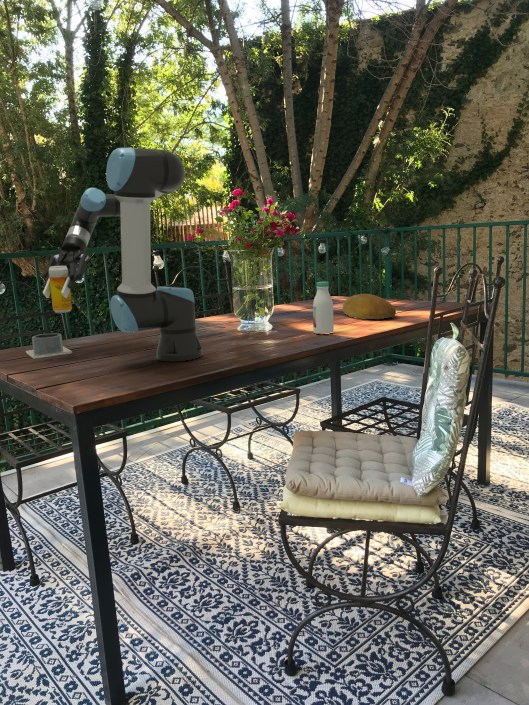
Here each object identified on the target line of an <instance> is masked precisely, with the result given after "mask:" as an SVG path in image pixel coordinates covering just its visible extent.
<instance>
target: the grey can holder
mask: <svg viewBox="0 0 529 705" xmlns="http://www.w3.org/2000/svg"><path fill="white" fill-rule="evenodd" d="M31 341H32V342H31V343H32V349H29V350H25V353H26V354H27V355H28V356H29V357H31V358H32V359H33V360H34V359H42V358H47V357H55V356H62V355H68V354H69V355H70V354H72V353H73V351H72V350H70V349H69V348H67V347H66V346H64V345H63V336H62V334H61V333H54V332H53V333H41V334H36V335H33V336H32V337H31Z"/></svg>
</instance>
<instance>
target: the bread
mask: <svg viewBox="0 0 529 705" xmlns="http://www.w3.org/2000/svg"><path fill="white" fill-rule="evenodd" d="M342 312H343V313H344V315H345V314H346V316H347V315H348V316H351V317H350V318H352V317H356V318H365V319H364V320H367V319H375V320H385V319H384V318H386V319H391V317H392V318H394V317H395V316H396V314H397V311H396V308H395V306H394V305H393V304H392V303H391V302H389V301H387V299H385V298H382V297H380V296H379V295H375V294H370V293H360V294H354V295H351V296H349V297H348V298H346V300H345V301H344V302H343V304H342ZM348 316H347V317H348ZM356 318H355V319H356Z"/></svg>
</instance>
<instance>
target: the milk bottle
mask: <svg viewBox="0 0 529 705" xmlns="http://www.w3.org/2000/svg"><path fill="white" fill-rule="evenodd" d="M329 284H330V283H329V281H317V282H316V294H315V296H314V299H313V302H312V303H313V304H312V316H313V318H312V320H313V322H312V323H313V334H314V333H330V332H333V333H334V305H333V304H334V303H333V299H332V297H331V294H330V292H329Z"/></svg>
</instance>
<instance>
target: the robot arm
mask: <svg viewBox="0 0 529 705" xmlns="http://www.w3.org/2000/svg"><path fill="white" fill-rule="evenodd" d="M105 170H106V171H105V172H106V174H105V176H106V177H105V178H106V181H107V187H108V188H109V189H110V190H111V191H113V192H114V193H113V194H112V193H111V194H109V193H108V194H106V193H105V192H103V191H102V190H101V189H98V188H97V187H89V188H87V189H86V190H85V191H84V192H83V194H82V195H81V197H80V201H79V204H78V207H77V209H76V211H75V214H74V217H73V219H72V222H71V224H70V227H69V229H68V232H67V234H66V235H65V239H64V241H63V242H62V245H61V251H60V252H59V253H58V254H54V253H52V254H50V259H49V261H48V263H47V266H46V267H45V270H44V271H43V273H42V277H43V278H44V279H45V281H44V282H45V283H44V285H43V286H44V289H43V291H42V294H43V295H44V296H45V298H46V299H49V298H50V296H51V288H50V279H49V267H52V266H66V267H67V266H69V277H67V279H66V282H65V284H64V287H63V289H62V292H61V293H62V295H63V296H64V297H65V298H67V297H68V294H69V291H70V292H71V290H72V289H73V288H74V285H75V283H76V282H77V281H82V280H83V278H84V277H83V276H84V274H85V270H86V268H87V263H88V262H89V261H90V259H91V258H90V257H89V255H88V253H86V249H87V247H88V244H89V242H90V239H91V236H92V233H93V231H94V229H95V227H96V225H97V221H98V220H99V219H100V217H120V242H121V243H120V247H121V248H120V250H121V251H120V252H121V278H122V279H121V283H120V284H119V285H118V287H117V288H116V289H117V290H116V292H117V294H114V296H112V297H111V298H110V303H109V307H110V313H111V316H112V319H113V321H114V323H115V325H116V328H118V330H120V331H121V332H123V333H137V332H143V331H149V330H157V329H159V333H160V334H159V335H160V336H159V339H158V340H159V341H158V344H157V349H156V352H155V353H156V359H157V360H158V361H162V362H186V360H188V361H192V359H193V360H197V359H200V358H202V357H203V356H202V355H204V351H203V347H202V345H201V342H200V340H199V336H198V334H197V328H196V325H197V324H196V310H195V309H196V308H195V302H196V301H195V296H194V292H193V290H192V289H190V288H188V287H187V288H186V287H176V286H157V287H155V286H154V285H153V284H152V283H151V281H152V278H151V275H152V274H151V273H152V272H151V271H152V267H151V264H152V262H151V259H152V258H151V204H152V202H154V201H155V200H156V199H159V197H162V196H163V195H170V194H172V193H174V192H176V191H177V190H179V189H180V188H181V186H182V185H183V184H184V182H185V178H186V169H185V166H184V164H183V162H182V160H181V159H180V158H179V156H177V155H176V154H175V153H174V152H171V151H169V150H166V149H156V148H155V149H153V148H140V147H139V148H138V147H131V146H130V147H117V148H116V149H113V151H112V152H111V154H110V156H109V157H108V160H107V163H106V169H105ZM201 356H202V357H201ZM199 357H200V358H199ZM196 358H197V359H196Z"/></svg>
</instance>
